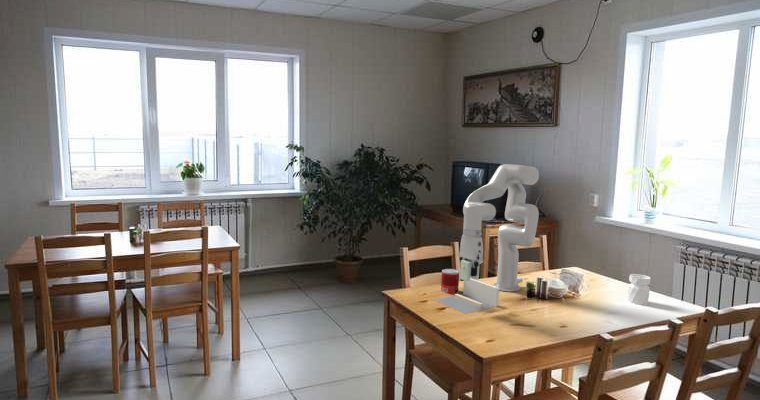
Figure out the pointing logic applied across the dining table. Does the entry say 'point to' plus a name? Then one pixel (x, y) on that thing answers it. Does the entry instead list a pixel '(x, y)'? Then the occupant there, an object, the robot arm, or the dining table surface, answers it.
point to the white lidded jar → (639, 289)
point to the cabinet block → (467, 270)
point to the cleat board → (473, 297)
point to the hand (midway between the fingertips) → (469, 274)
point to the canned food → (450, 281)
